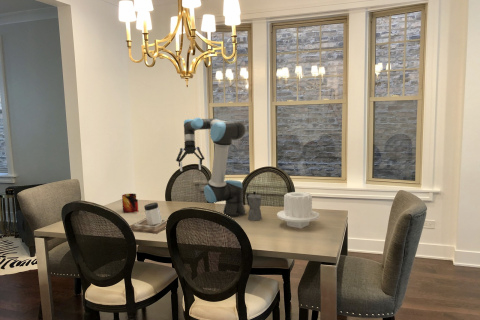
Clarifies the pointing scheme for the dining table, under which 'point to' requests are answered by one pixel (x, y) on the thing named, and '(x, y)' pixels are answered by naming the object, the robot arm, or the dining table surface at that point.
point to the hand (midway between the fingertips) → (190, 170)
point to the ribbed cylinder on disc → (297, 209)
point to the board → (148, 226)
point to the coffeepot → (254, 206)
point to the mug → (129, 203)
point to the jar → (153, 214)
